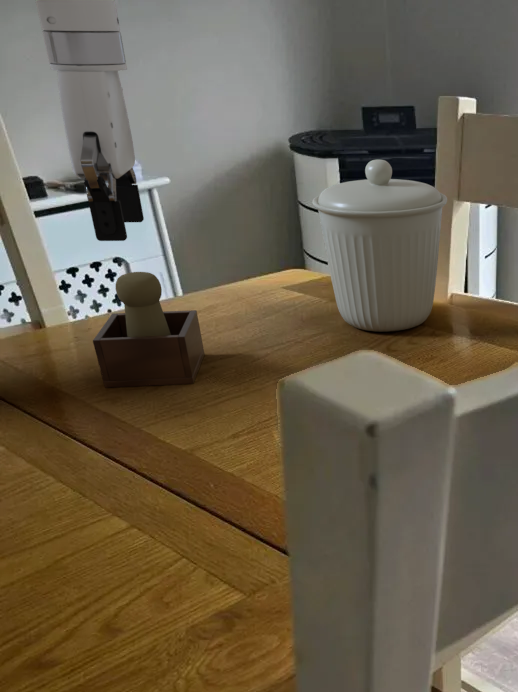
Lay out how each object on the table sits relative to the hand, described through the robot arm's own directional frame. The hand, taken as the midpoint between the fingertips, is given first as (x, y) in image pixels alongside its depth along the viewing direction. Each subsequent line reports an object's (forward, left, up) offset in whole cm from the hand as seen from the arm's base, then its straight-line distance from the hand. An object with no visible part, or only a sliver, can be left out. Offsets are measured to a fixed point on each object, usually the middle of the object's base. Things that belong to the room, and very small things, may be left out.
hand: (121, 230), depth 95 cm
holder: (0, 0, -17) cm, 17 cm away
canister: (+30, +16, -17) cm, 38 cm away
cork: (0, 0, -16) cm, 16 cm away
